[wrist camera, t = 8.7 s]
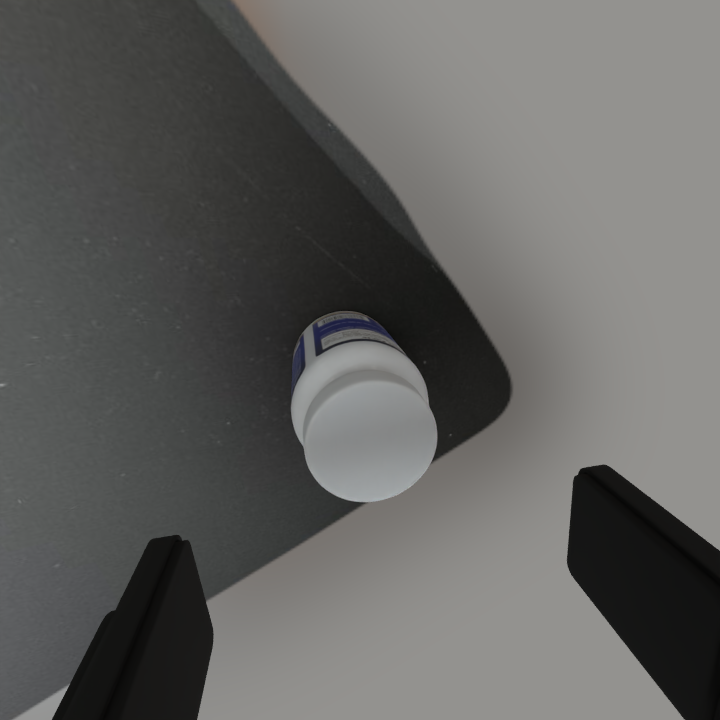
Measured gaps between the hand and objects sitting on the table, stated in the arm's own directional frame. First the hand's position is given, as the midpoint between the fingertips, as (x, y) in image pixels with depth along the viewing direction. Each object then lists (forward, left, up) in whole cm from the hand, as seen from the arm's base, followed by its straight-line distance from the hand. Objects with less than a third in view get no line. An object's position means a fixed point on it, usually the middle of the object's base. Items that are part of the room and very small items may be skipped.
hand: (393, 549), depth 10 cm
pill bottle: (0, 0, -15) cm, 15 cm away
